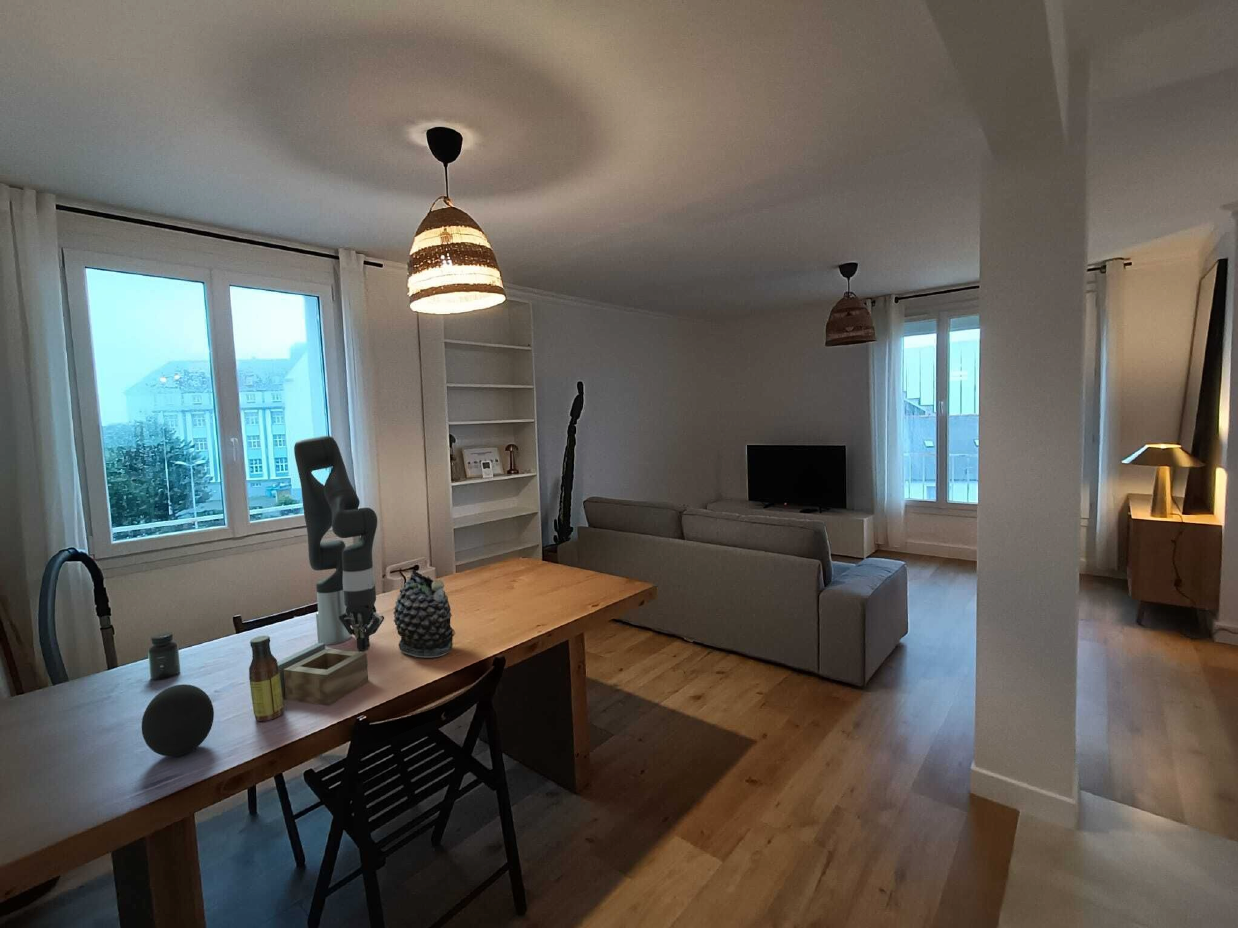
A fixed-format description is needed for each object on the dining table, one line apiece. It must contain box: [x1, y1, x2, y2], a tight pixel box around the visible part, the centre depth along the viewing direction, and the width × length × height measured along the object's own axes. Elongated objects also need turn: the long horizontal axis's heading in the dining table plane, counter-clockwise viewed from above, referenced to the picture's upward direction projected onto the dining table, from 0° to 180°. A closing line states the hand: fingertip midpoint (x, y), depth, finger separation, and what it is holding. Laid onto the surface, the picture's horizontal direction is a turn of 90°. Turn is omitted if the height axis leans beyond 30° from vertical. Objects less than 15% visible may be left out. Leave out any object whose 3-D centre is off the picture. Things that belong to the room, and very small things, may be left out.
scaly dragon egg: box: [393, 569, 456, 659], centre depth 175 cm, size 21×15×25 cm
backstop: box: [277, 642, 326, 699], centre depth 154 cm, size 2×16×9 cm, turn 162°
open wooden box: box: [284, 648, 369, 706], centre depth 151 cm, size 14×14×8 cm
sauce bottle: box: [248, 635, 284, 722], centre depth 137 cm, size 6×6×20 cm
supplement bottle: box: [147, 632, 181, 681], centre depth 163 cm, size 7×7×12 cm
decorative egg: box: [141, 683, 215, 758], centre depth 123 cm, size 12×12×15 cm
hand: (363, 650), depth 146 cm, fingers closed
